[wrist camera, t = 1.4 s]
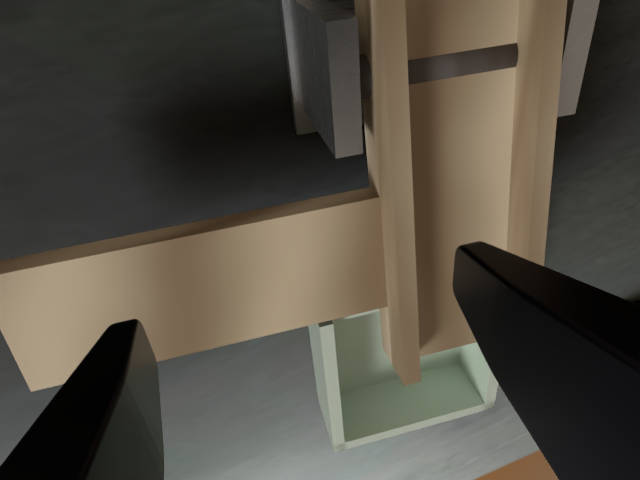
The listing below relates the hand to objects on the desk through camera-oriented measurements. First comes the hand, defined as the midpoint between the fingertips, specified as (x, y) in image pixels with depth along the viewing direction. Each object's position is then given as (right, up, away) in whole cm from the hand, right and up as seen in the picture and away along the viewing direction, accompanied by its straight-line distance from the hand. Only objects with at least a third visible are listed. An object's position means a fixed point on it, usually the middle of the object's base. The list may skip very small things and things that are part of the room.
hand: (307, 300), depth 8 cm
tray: (+4, -3, +18) cm, 19 cm away
